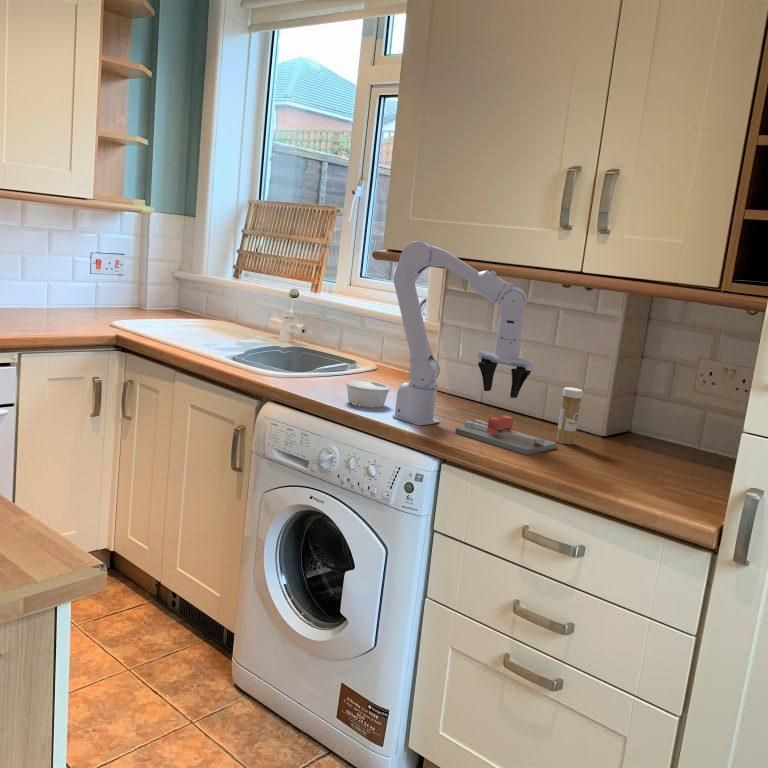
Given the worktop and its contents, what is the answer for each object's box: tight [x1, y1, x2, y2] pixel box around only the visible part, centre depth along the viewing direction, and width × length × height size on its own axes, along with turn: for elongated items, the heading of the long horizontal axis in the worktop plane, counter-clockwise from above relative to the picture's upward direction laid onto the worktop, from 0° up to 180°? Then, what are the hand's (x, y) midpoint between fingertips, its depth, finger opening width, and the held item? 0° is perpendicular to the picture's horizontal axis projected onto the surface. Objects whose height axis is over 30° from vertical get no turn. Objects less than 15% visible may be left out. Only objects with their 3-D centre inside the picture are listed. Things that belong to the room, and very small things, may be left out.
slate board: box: [455, 426, 558, 456], centre depth 191 cm, size 20×13×1 cm, turn 48°
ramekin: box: [346, 380, 390, 408], centre depth 214 cm, size 11×11×5 cm
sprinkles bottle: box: [555, 386, 584, 445], centre depth 195 cm, size 5×5×13 cm
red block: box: [487, 415, 514, 435], centre depth 192 cm, size 2×7×4 cm, turn 138°
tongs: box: [463, 419, 545, 447], centre depth 191 cm, size 21×5×1 cm, turn 48°
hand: (500, 394), depth 196 cm, fingers open, 7 cm apart
